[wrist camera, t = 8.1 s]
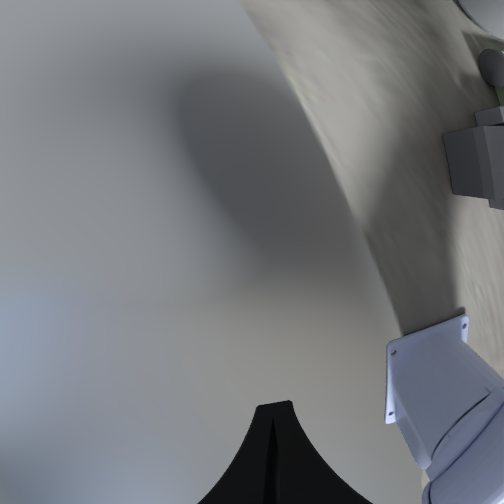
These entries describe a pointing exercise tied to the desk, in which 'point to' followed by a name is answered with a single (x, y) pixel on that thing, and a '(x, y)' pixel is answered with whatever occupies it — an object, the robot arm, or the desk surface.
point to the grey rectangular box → (476, 161)
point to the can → (486, 15)
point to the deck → (499, 75)
